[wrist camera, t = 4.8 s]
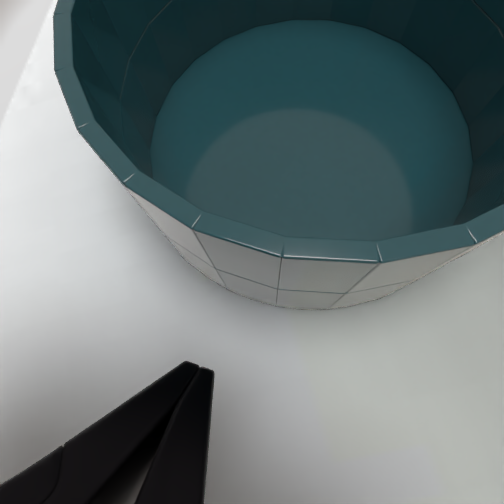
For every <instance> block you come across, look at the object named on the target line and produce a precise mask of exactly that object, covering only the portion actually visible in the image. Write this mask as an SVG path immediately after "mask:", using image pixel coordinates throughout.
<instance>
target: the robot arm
mask: <svg viewBox="0 0 504 504" xmlns="http://www.w3.org/2000/svg"><path fill="white" fill-rule="evenodd" d="M213 387H214V371H213V370H210V369H208V368H205V367H199V365H197V364H194V363H192V362H189V361H185V362H183V363H181V364H180V365H178V366H177V367H175V368H174V369H173V370H171V371H170V372H168V373H167V374H165V375H164V376H162V377H161V378H159V379H158V380H156V381H155V382H154V383H152V384H151V385H149V386H148V387H146V388H145V389H143V390H142V391H140V392H139V393H138V394H136V395H135V396H133V397H132V398H130V399H129V400H127V401H126V402H124V403H123V404H121V405H120V406H119V407H117V408H116V409H114V410H113V411H111V412H110V413H108V414H107V415H105V416H104V417H103V418H101V419H100V420H98V421H97V422H95V423H94V424H92V425H91V426H89V427H88V428H86V429H85V430H84V431H82V432H81V433H79V434H78V435H76V436H75V437H73V438H72V439H70V440H69V441H67V442H66V443H65V444H64V447H63V446H60V447H58V448H57V449H56V450H54V451H53V452H51V453H50V454H48V455H47V456H45V457H44V458H42V459H41V460H39V461H38V462H36V463H35V464H33V465H32V466H30V467H29V468H27V469H26V470H24V471H22V472H21V473H19V474H18V475H16V476H14V477H13V478H11V479H9V480H8V481H6V482H4V483H3V484H1V485H0V504H204V497H205V484H206V472H207V460H208V448H209V436H210V424H211V411H212V399H213Z"/></svg>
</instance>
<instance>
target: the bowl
mask: <svg viewBox="0 0 504 504" xmlns="http://www.w3.org/2000/svg"><path fill="white" fill-rule="evenodd" d="M53 30H54V71H55V74H56V77H57V80H58V82H59V85H60V87H61V90H62V93H63V95H64V98H65V100H66V103H67V105H68V108H69V111H70V113H71V116H72V118H73V121H74V124H75V126H76V129H77V130H78V132H79V134H80V135H81V136H82V137H83V138H84V140H85V141H86V142H87V143H88V144H89V146H90V147H91V148H92V149H93V150H94V151H95V153H96V154H97V155H98V156H99V157H100V159H101V160H102V161H103V162H104V163H105V165H106V166H107V167H108V168H109V169H110V171H111V172H112V173H113V174H114V175H115V177H116V178H117V179H118V180H119V181H120V183H121V184H122V185H123V186H124V187H125V188H126V190H127V191H128V192H129V193H130V194H131V196H132V197H133V198H134V199H135V200H136V202H137V203H138V204H139V205H140V206H141V208H142V209H143V210H144V211H145V212H146V214H147V215H148V216H149V217H150V218H151V220H152V221H153V222H154V223H155V224H156V225H157V227H158V228H159V229H160V230H161V231H162V233H163V234H164V235H165V236H166V237H167V239H168V240H169V241H170V242H171V243H172V245H173V246H174V247H175V248H176V249H177V251H178V252H179V253H180V254H181V255H182V256H183V258H184V259H185V260H186V261H187V262H188V263H189V264H190V265H192V266H193V267H195V268H196V269H198V270H199V271H200V272H201V273H203V274H204V275H205V276H206V277H208V278H209V279H211V280H212V281H214V282H216V283H218V284H219V285H221V286H223V287H224V288H226V289H228V290H230V291H232V292H234V293H237V294H239V295H242V296H244V297H246V298H249V299H251V300H255V301H258V302H262V303H266V304H269V305H273V306H278V307H286V308H293V309H301V310H326V309H334V308H341V307H349V306H354V305H357V304H361V303H365V302H368V301H373V300H378V299H381V298H383V297H385V296H386V295H388V294H390V293H392V292H394V291H397V290H399V289H400V288H402V287H404V286H406V285H408V284H410V283H412V282H414V281H416V280H418V279H420V278H422V277H424V276H426V275H427V274H429V273H431V272H433V271H435V270H437V269H438V268H440V267H442V266H444V265H446V264H448V263H449V262H451V261H453V260H455V259H457V258H459V257H460V256H462V255H464V254H466V253H468V252H470V251H471V250H473V249H475V248H477V247H479V246H481V245H482V244H484V243H486V242H488V241H490V240H492V239H493V238H495V237H497V236H499V235H501V234H503V233H504V0H58V2H57V5H56V8H55V11H54V15H53Z"/></svg>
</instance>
